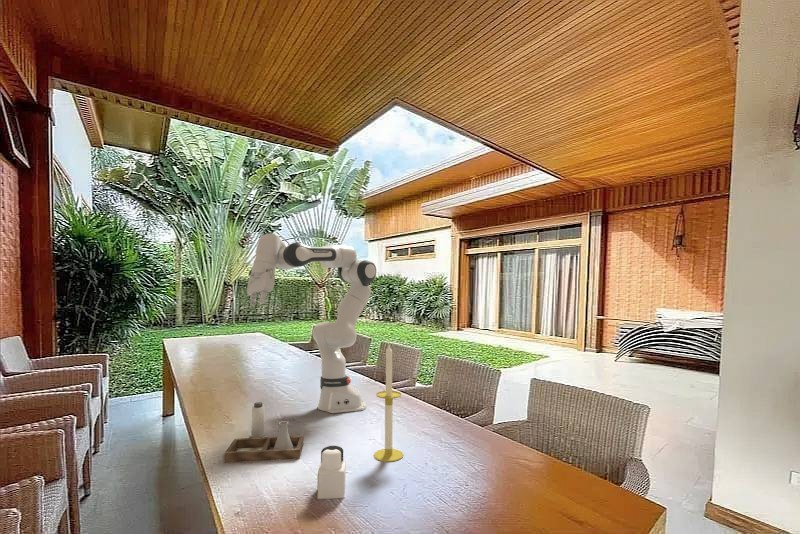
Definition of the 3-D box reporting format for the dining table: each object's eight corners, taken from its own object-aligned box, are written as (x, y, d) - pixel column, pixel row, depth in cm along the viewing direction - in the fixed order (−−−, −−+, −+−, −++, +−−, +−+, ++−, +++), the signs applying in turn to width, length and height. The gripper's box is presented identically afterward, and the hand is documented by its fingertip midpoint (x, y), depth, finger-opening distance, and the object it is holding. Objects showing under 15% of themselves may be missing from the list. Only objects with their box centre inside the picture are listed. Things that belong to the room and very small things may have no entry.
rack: (303, 444, 146) (303, 435, 146) (299, 459, 134) (299, 449, 134) (234, 447, 143) (234, 438, 143) (224, 462, 131) (224, 453, 131)
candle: (380, 464, 130) (381, 345, 132) (369, 452, 139) (370, 341, 141) (408, 458, 134) (408, 344, 136) (395, 447, 144) (396, 340, 145)
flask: (287, 457, 135) (288, 427, 135) (267, 455, 136) (268, 425, 137) (297, 449, 142) (298, 419, 142) (278, 447, 143) (278, 418, 144)
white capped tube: (264, 433, 156) (265, 401, 156) (262, 438, 152) (263, 404, 152) (252, 434, 155) (253, 401, 156) (250, 438, 151) (250, 405, 152)
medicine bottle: (320, 486, 116) (320, 443, 116) (345, 485, 117) (345, 442, 117) (317, 499, 109) (317, 454, 109) (344, 498, 109) (344, 453, 110)
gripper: (281, 269, 161) (274, 303, 157) (261, 276, 176) (255, 307, 173) (265, 265, 157) (258, 300, 153) (247, 272, 173) (240, 304, 169)
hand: (257, 304), depth 163 cm, fingers open, 8 cm apart
